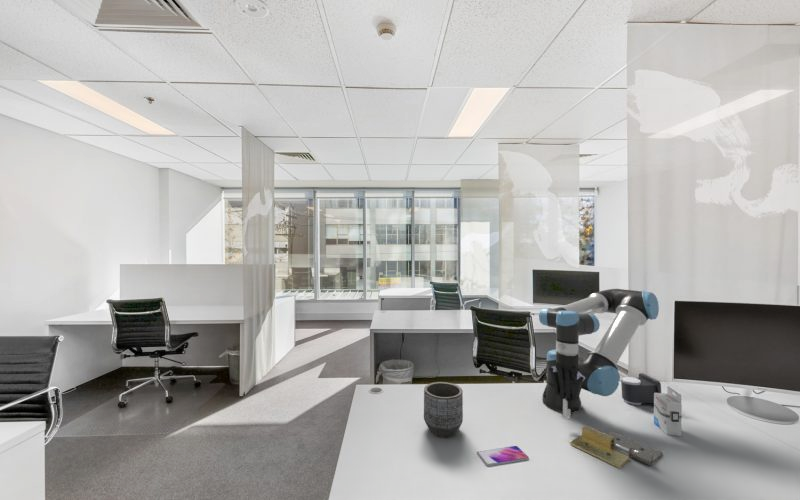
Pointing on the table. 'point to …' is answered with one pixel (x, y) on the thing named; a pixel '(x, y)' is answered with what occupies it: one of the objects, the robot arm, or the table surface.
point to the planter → (443, 408)
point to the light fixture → (639, 389)
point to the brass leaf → (599, 446)
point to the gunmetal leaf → (636, 449)
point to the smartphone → (502, 456)
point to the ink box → (668, 412)
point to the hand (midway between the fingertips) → (566, 416)
